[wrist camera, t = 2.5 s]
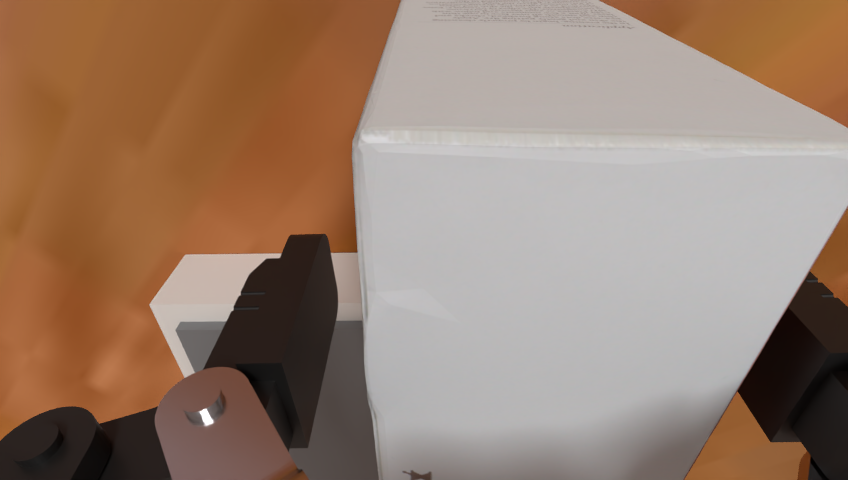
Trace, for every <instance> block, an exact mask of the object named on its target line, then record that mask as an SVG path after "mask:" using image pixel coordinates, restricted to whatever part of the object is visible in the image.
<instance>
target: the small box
mask: <svg viewBox="0 0 848 480" xmlns="http://www.w3.org/2000/svg"><path fill="white" fill-rule="evenodd" d="M352 164H353V183H354V202H355V219H356V234H357V250H358V262H359V273H360V291H361V307H362V322H363V339H364V370H365V379H366V385H367V398H368V403H369V407H370V411H371V416H372V421H373V430H374V439H375V449H376V458H377V467H378V476H379V480H684V479H685V477H686V476H687V474H688V472H689V471H690V469H691V467H692V466H693V464H694V463H695V461H696V459H697V458H698V456H699V454H700V453H701V451H702V449H703V447H704V446H705V444H706V442H707V440H708V438H709V437H710V435H711V434H712V432H713V431H714V429H715V428H716V426H717V424H718V423H719V421H720V419H721V418H722V416H723V414H724V412H725V411H726V409H727V407H728V406H729V404H730V402H731V401H732V399H733V397H734V396H735V394H736V392H737V391H738V389H739V387H740V386H741V384H742V382H743V381H744V379H745V378H746V376H747V374H748V373H749V371H750V369H751V368H752V366H753V364H754V363H755V361H756V359H757V358H758V356H759V354H760V353H761V351H762V349H763V348H764V346H765V344H766V342H767V341H768V339H769V337H770V336H771V334H772V332H773V330H774V329H775V327H776V325H777V324H778V322H779V321H780V319H781V317H782V316H783V314H784V313H785V311H786V309H787V308H788V306H789V305H790V303H791V301H792V300H793V298H794V296H795V295H796V293H797V291H798V290H799V288H800V286H801V285H802V283H803V281H804V280H805V278H806V276H807V275H808V273H809V271H810V270H811V268H812V266H813V265H814V263H815V261H816V260H817V258H818V256H819V255H820V253H821V251H822V250H823V248H824V246H825V245H826V243H827V241H828V240H829V238H830V237H831V235H832V233H833V232H834V230H835V228H836V227H837V225H838V223H839V222H840V220H841V218H842V217H843V215H844V213H845V212H846V210H847V208H848V128H847V127H845V126H843V125H841V124H839V123H838V122H836V121H834V120H832V119H830V118H828V117H826V116H825V115H823V114H821V113H819V112H817V111H815V110H813V109H811V108H809V107H807V106H805V105H803V104H801V103H799V102H797V101H795V100H793V99H791V98H789V97H787V96H784V95H782V94H780V93H778V92H776V91H774V90H772V89H770V88H768V87H766V86H764V85H763V84H761V83H759V82H757V81H755V80H753V79H751V78H749V77H748V76H746V75H744V74H742V73H740V72H738V71H736V70H734V69H732V68H730V67H728V66H726V65H724V64H722V63H720V62H719V61H717V60H715V59H713V58H711V57H709V56H707V55H705V54H703V53H701V52H699V51H697V50H695V49H693V48H691V47H689V46H687V45H685V44H683V43H681V42H679V41H677V40H675V39H673V38H671V37H669V36H667V35H665V34H664V33H662V32H660V31H658V30H656V29H654V28H652V27H650V26H648V25H646V24H644V23H642V22H641V21H639V20H637V19H635V18H633V17H631V16H629V15H627V14H625V13H623V12H621V11H619V10H617V9H615V8H613V7H611V6H609V5H607V4H605V3H603V2H601V1H599V0H401V2H400V5H399V8H398V11H397V14H396V17H395V20H394V23H393V25H392V28H391V30H390V33H389V36H388V39H387V42H386V45H385V48H384V51H383V54H382V56H381V59H380V62H379V65H378V68H377V72H376V75H375V78H374V81H373V83H372V86H371V88H370V90H369V93H368V96H367V100H366V103H365V106H364V109H363V112H362V115H361V118H360V121H359V124H358V127H357V130H356V133H355V136H354V139H353V145H352Z"/></svg>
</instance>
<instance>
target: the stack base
mask: <svg viewBox="0 0 848 480" xmlns="http://www.w3.org/2000/svg"><path fill="white" fill-rule="evenodd" d="M280 256H281V254H191V255H185V256H184V257H183V259H182V260H181V261H180V263H179V264H178V266H177V267H176V268H175V270H174V271H173V273H172V274H171V275H170V277H169V278H168V279H167V281H166V282H165V284H164V285H163V286H162V288H161V289H160V290H159V292H158V293H157V295H156V296H155V297H154V299H153V300H152V302H151V303H150V304H149V305H150V307H151V309H152V311H153V313H154V315H155V317H156V320H157V322H158V324H159V326H160V328H161V330H162V332H163V334H164V336H165V338H166V340H167V342H168V344H169V346H170V348H171V350H172V352H173V355H174V357H175V359H176V361H177V363H178V365H179V367H180V369H181V371H182V373H183V375H184V377H185V378H186V377H188V376H189V375H191V374H193V373H196V372H198V371H201V370H203V368H204V366H205V364H206V362H207V360H208V358H209V356H210V354H211V352H212V350H213V348H214V346H215V344H216V342H217V340H218V338H219V335H220V333H221V331H222V329H223V327H224V325H225V323H226V321H227V319H228V317H229V315H230V313H231V311H233V310H234V308H233V307H234V305H235V303H236V300H237V298H238V296H241V290H242V288H243V286H244V284H245V282H246V280H247V278H248V276H249V274H250V273H251V272H252V271H253V270H254V269H255V268H257V267H258V266H259V265H260V264H261V263H262V262H263V261H264V260H265V259H267V258H280ZM331 257H332V262H333V268H334V273H335V278H336V284H337V290H338V312H337V318H336V323H335V327H334V332H333V336H332V341H331V345H330V350H329V355H328V359H327V364H326V368H325V373H324V377H323V382H322V386H321V391H320V396H319V400H318V405H317V409H316V414H315V418H314V423H313V428H312V432H311V437H310V441H309V446H308V448H290V449H289V454H290V456H291V458H292V459H293V461H294V463H295V465H296V466H297V468H298V469H299V470H300V469H302V470H303V471H304V473H305V474H306V476H307V477H308V479H309V480H379V476H378V467H377V458H376V449H375V439H374V430H373V421H372V416H371V411H370V407H369V403H368V398H367V385H366V379H365V370H364V339H363V322H362V307H361V291H360V273H359V262H358V253H331Z"/></svg>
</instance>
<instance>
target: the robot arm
mask: <svg viewBox="0 0 848 480" xmlns="http://www.w3.org/2000/svg"><path fill="white" fill-rule="evenodd" d="M817 280H818V279H817V278H816V277H815V276H814V275H813V274H812V273H811V272H810V271H809V273H808V275H807V276H806V278H805V280H804V281H803V283H802V285H801V286H800V288H799V290H798V291H797V293H796V295H795V296H794V298H793V300H792V301H791V303H790V305H789V306H788V308H787V309H786V311H785V313H784V314H783V316H782V317H781V319H780V321H779V322H778V324H777V325H776V327H775V329H774V330H773V332H772V334H771V336H770V337H769V339H768V341H767V342H766V344H765V346H764V348H763V349H762V351H761V353H760V354H759V356H758V358H757V359H756V361H755V363H754V364H753V366H752V368H751V369H750V371H749V373H748V374H747V376H746V378H745V379H744V381H743V382H742V384H741V386H740V387H739V389H738V393H739V394H740V396H741V397H742V399H743V400H744V402H745V403H746V405H747V406H748V408H749V410H750V411H751V413H752V414H753V416H754V417H755V419H756V420H757V422H758V423H759V425H760V427H761V428H762V430H763V431H764V433H765V434H766V436H767V437H768V439H769V440H770V442H802V444H803V445H804V447H805V448H806V450H807V452H806V453H805V455H804V456H803V457H802V459H801V461H800V464H799V472H798V479H797V480H848V307H847V306H846V305H845V304H844V303H843V302H842V301H841V300H840V299H839V298H834V297H833V293H832V292H831V291H830V290H829V289H828V288H827V287H826V286H825V285H824V284H823V283H818V281H817ZM233 308H234V310H233V311H231V313H230V315H229V317H228V319H227V321H226V323H225V325H224V327H223V329H222V331H221V333H220V335H219V338H218V340H217V342H216V344H215V346H214V348H213V350H212V352H211V354H210V356H209V358H208V360H207V362H206V364H205V366H204V368H203V370H201V371H198V372H196V373H193V374H191V375H189V376H188V377H186V378H184V379H183V380H181V381H180V382H178V383H177V384H176V385H175V386H173V387H172V388H171V389H170V390H169V391H168V392H167V394H166V395H165V396H164V397H163V399H162V400H161V402H160V404H159V406H158V407H155V408H152V409H149V410H146V411H142V412H139V413H136V414H132V415H129V416H125V417H122V418H118V419H115V420H111V421H108V422H104V423H101V424H99V423H98V422H97V420H96V419H95V418H94V416H93V415H92V413H90V412H89V411H88V410H86V409H84V408H80V407H61V408H56V409H53V410H49V411H47V412H44V413H41V414H39V415H37V416H35V417H33V418H31V419H29V420H27V421H26V422H24V423H22V424H21V425H19V426H18V427H16V428H15V429H13V430H12V431H11V432H10V433H9V434H7V435H6V436H5V437H4V438H3V439H2V440H1V441H0V480H309V479H308V477H307V476H306V474H305V473H304V471H303V470H302V469H300V470H299V469H298V468H297V466H296V465H295V463H294V461H293V459H292V458H291V456H290V454H289V449H290V448H308V446H309V441H310V437H311V432H312V428H313V423H314V418H315V414H316V409H317V405H318V400H319V396H320V391H321V386H322V382H323V377H324V373H325V368H326V364H327V359H328V355H329V350H330V345H331V341H332V336H333V332H334V327H335V323H336V318H337V312H338V290H337V284H336V278H335V273H334V268H333V262H332V257H331V251H330V246H329V241H328V238H327V236H326V234H305V235H290V236H289V238H288V240H287V242H286V245H285V247H284V249H283V252H282V254H281V256H280V258H267V259H265V260H264V261H263V262H262V263H261V264H260V265H259V266H258V267H257V268H255V269H254V270H253V271H252V272H251V273H250V274H249V276H248V278H247V280H246V282H245V284H244V286H243V288H242V290H241V296H238V298H237V300H236V303H235V305H234V307H233Z"/></svg>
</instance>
